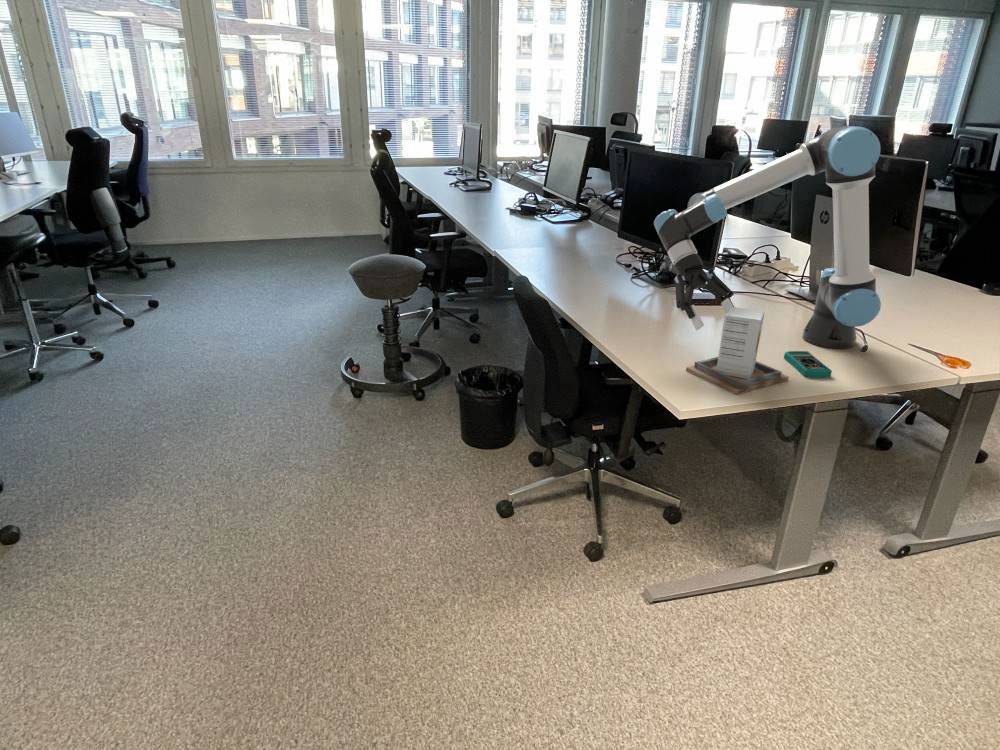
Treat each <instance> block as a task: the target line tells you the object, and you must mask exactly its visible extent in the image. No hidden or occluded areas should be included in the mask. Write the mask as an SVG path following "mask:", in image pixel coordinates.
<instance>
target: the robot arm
mask: <svg viewBox="0 0 1000 750" xmlns="http://www.w3.org/2000/svg"><path fill="white" fill-rule="evenodd" d="M880 156H881V142H880V140H879V138H878V136H877V135H876V134H875V133H874V132H873V131H872V130H870V129H869V128H866V127H864V126H859V125H856V126H855V125H854V126H853V125H838V126H835V127H833V128H831V129H828V130H827V131H825V132H823V133H821V134H819V135H817V136H816V137H813V138H812V139H810V140H808V141H805V142H803V143H801V144H800V145H799V148H798V149H796V150H794V151H792V152H790V153H787V154H786V155H784V156H781V157H778V158H777V159H775V160H772V161H770V162H768V163H765V164H764V165H761V166H759V167H756V168H755V169H753V170H751V171H748V172H746V173H743V174H741V175H740V176H737V177H735V178H733V179H730V180H728V181H725V182H723V183H722V184H719V185H717V186H715V187H713V188H710V189H709V190H707V191H704V192H697V193H695V194H694V195H692V196H691V197H690V198H689V200H688V203H687V206H686V207H687V208H686V209H684V210H682V211H681V212H678V210H676V209H668V210H665V211H662V212H661V213H660V214H658V215H657V216H656V217H655V219H654V221H653V226H654V228H655V230H656V232H657V235H658V237H659V239H660V241H661V244H662V245H663V247H664V249H665V252H667V255H668V257H669V259H670V261H671V263H672V265H673V267H674V270H675V271H676V274H677V275H676V276H675V277H674V278H673V279H672V280H673V283H674V286H675V302H676V303H675V305H676V308H677V309H680V310H681V311H682V312H683V311H685V313H686V315H687V317H688V319H690V321H691V322H692V325H693V327H694V330H696V331H698V330H701V328H702V327H704V326H705V324H704V322H703V319H702V318H701V316H700V314H699V312H698V310H697V308H696V306H695V304H692V300H693V297H694V291H695V290H701V289H702V290H705V291H707V292H709V293H710V294H711V295H713V296H714V297H715V298H717V299H718V300H720V301H721V302H720V305H721V306H722V308H723V311H724V312H725V314H726V313H727V312H728V310H729V308H730V307H735V305H734V303H733V302H732V300H731V299H732V297H733V296H735V293H734V292H733V291H732V289H730V288H729V287H728V285H726V283H724V282H723V280H722V279H721V278H719V277H718V275H717V274H716V273H715V271H714V269H712V268H711V269H710V270H709V269H708V271H705V270H704V262H703V260H702V258H701V256H700V255H699V254H698V250H697V248H696V246H695V245H694V243H693V241H692V239H691V237H692V236H693V235H695V234H697V233H698V232H700V231H702V230H703V231H704V229H706V228H708V227H710V226H712V225H713V224H715V223H716V224H717V223H718V222H719V221H720V220H722V219H724V218H725V217H726V216H727V214H728V212H727V210H729V209H731V208H733V207H735V206H737V205H739V204H743V203H744V202H747V201H749V200H751V199H753V198H756V197H758V196H760V195H763V194H765V193H767V192H770V191H772V190H775V189H776V188H780V187H781V186H784V185H786V184H789V183H791V182H793V181H795V180H797V179H799V178H802V177H804V176H806V175H810V176H815V175H817V174H819V173H820V174H821V173H823V172H825V184H826V185H827V186H828V187H830V188H831V189H832V190H831V191H832V216H833V218H832V219H833V223H832V224H833V254H834V256H833V257H834V260H833V261H834V267H827V268H825V269H824V270H822V273H821V276H820V278H819V280H820V281H819V286H818V290H817V294H816V295H817V296H816V299H815V305H814V310H813V314H812V316H811V317H810V319H809V320H808V322H807V324H806V325H805V327H804V329H803V333H802V338H803V340H805V342H807V343H810V344H813V345H816V346H819V347H825V348H830V349H850V348H853V347H854V346H855V345H856V342H857V333H856V327H862V326H865V325H868V324H869V323H871V322H872V321H873V320H874V319H876V318H877V316H878V315H879V313H880V311H881V309H882V308H881V307H882V302H881V298H880V296H879V294H878V293H877V292H876V291H877V279H876V278H877V276H876V274H875V273H874V272H873V271H871V270H870V207H869V206H870V205H869V204H870V197H869V196H870V194H869V193H870V191H869V189H870V188H869V184H870V183H871V181H872V180H873V179H874V178H876V164H877V162H878V160H879V158H880Z"/></svg>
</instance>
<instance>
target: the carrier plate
mask: <svg viewBox="0 0 1000 750" xmlns="http://www.w3.org/2000/svg"><path fill="white" fill-rule="evenodd" d="M717 362H718V356H715V357H711V358H707V359H704V360H699V361H695V362H694V365H690V366H686V369H685V371H686V372H688V373H690V374H692V375H694V376H696V377H698V378H701V379H702V380H705V381H707V382H709V383H710V384H713V385H715V386H717V387H719V388H721V389H723V390H725V391H727V392H729V393H732V394H733V395H740V394H743V393H749V392H751V391H754V390H758V389H761V388H762V389H763V388H764V387H765V388H766V387H769V386H772V385H776V384H779V383H782V382H785V381H789V378H790V376H788V375H785V374H784V373H782V371H781V370H779V369H776V368H774V367H772V366H769V365H766V364H764V363H762V362H759V361H757V360H756V362H755V368H754V371H753V374H752V376H751V378H749V379H745V378H739V377H734V376H728V375H726V374H723V373H721V372H719V371H717V370H716V369H717Z"/></svg>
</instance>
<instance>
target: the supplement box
mask: <svg viewBox="0 0 1000 750" xmlns="http://www.w3.org/2000/svg"><path fill="white" fill-rule="evenodd" d="M764 318H765V311H764V310H757V309H750V308H743V307H736V306H734V307H730V308H729V310H728V312H727V313H726V312H725V314H724V318H723V326H722V331H721V338H720V345H719V350H718V355H717V357H718V362H717V369H716V370H717V371H719V372H721V373H723V374H726V375H728V376H734V377H739V378H745V379H749V378H751V376H752V374H753V371H754V368H755V362H756V361H757V356H758V350H759V345H760V341H761V335H762V330H763V323H764Z"/></svg>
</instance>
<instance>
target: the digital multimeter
mask: <svg viewBox="0 0 1000 750" xmlns="http://www.w3.org/2000/svg"><path fill="white" fill-rule="evenodd" d="M783 359H784V360H785V361H786V362H788V363H789V364H790V365H791V366H793V368H795V369H796V371H798V372H799V373H800V374H801V375H802V376H803V377H804V378H809V377H810V378H809V379H814V378H815V379H824V378H825V379H826V377H827V378H831V376H832V372H833V371H832V370H831V368H829V367H828V366H827V365H825V364H824V363H823V362H822V361H820V360H819V359H818V358H817V357H815V356H814V355H813V354H812V353H811V352H810V351H807V350H806V351H805V350H794V351H793V350H789V351H785V352H784V354H783Z"/></svg>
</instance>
